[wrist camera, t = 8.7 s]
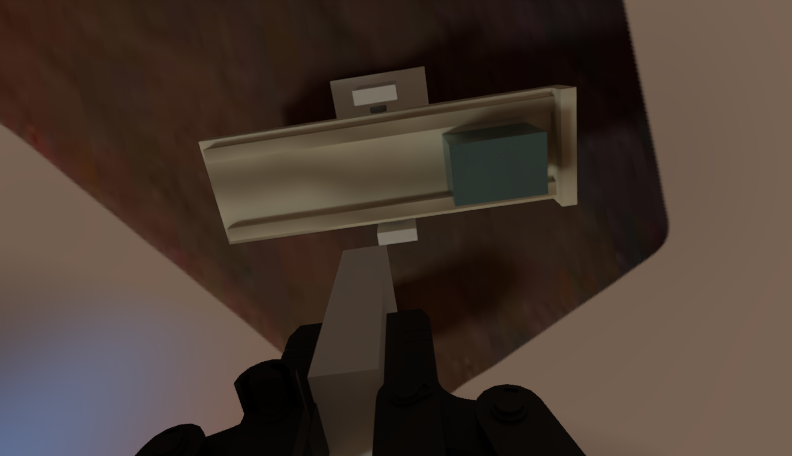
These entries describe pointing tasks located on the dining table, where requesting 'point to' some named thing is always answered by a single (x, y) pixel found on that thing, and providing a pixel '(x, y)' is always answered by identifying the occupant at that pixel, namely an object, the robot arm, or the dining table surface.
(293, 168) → the balance beam
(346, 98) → the pivot stand
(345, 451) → the robot arm
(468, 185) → the rider
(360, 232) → the dining table surface
